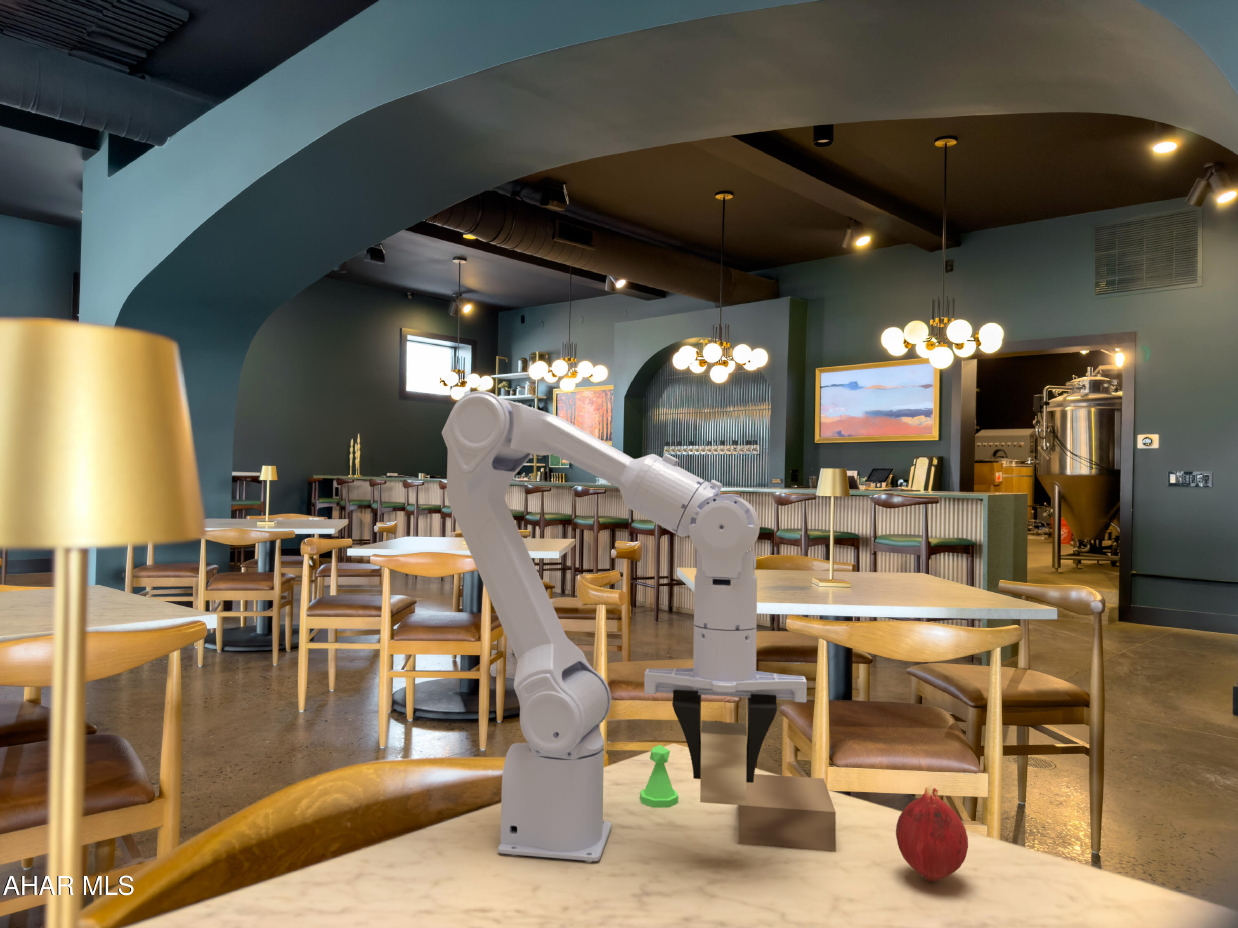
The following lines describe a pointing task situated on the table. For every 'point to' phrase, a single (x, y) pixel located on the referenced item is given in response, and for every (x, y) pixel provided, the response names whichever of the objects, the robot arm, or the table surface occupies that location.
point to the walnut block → (787, 814)
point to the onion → (931, 837)
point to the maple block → (723, 763)
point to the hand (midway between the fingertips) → (723, 776)
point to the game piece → (659, 782)
